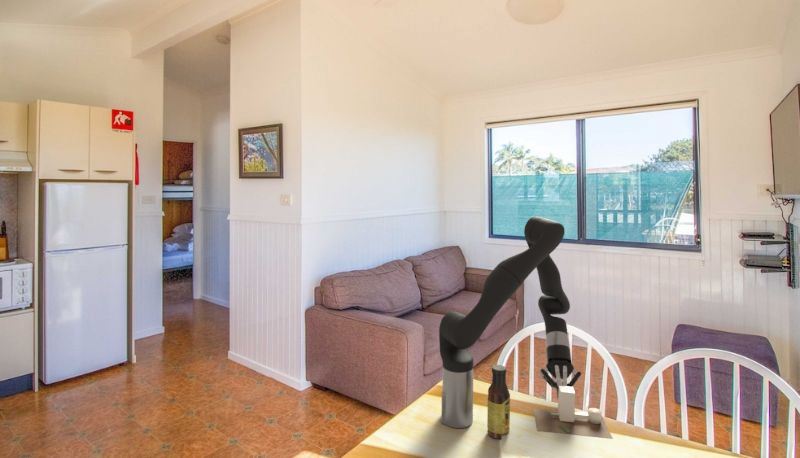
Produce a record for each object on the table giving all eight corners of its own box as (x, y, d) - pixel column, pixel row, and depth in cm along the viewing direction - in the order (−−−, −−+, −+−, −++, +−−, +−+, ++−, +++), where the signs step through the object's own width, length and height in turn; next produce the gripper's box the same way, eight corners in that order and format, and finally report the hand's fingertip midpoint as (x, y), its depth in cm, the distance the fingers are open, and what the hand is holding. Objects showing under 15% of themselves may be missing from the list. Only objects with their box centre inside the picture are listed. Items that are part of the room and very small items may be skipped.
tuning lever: (599, 417, 130) (600, 389, 129) (602, 424, 126) (604, 395, 125) (550, 412, 133) (551, 385, 131) (552, 420, 129) (553, 391, 128)
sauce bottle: (509, 441, 121) (511, 374, 119) (487, 439, 123) (488, 372, 120) (508, 428, 128) (510, 364, 125) (487, 426, 129) (488, 362, 127)
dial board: (537, 435, 124) (537, 430, 124) (533, 413, 136) (533, 408, 135) (612, 443, 120) (612, 437, 120) (601, 419, 132) (601, 414, 132)
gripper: (538, 342, 143) (542, 395, 133) (580, 344, 141) (587, 399, 130) (536, 351, 149) (539, 403, 139) (576, 354, 147) (583, 406, 136)
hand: (562, 401), depth 134 cm, fingers closed
